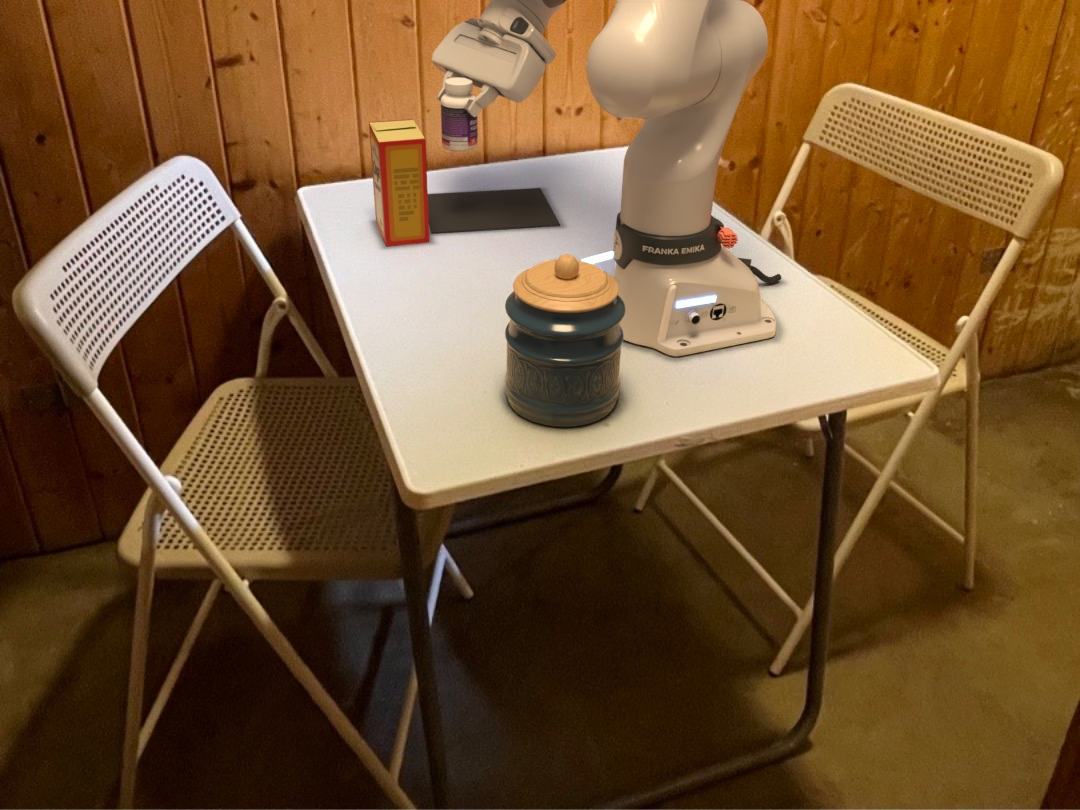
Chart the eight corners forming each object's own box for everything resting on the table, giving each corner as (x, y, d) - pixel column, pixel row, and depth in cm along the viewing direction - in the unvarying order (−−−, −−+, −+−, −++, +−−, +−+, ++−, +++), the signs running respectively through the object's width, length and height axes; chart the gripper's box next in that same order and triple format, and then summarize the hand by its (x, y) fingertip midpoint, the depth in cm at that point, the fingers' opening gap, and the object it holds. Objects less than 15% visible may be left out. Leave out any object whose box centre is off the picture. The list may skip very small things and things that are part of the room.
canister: (530, 440, 108) (533, 291, 98) (488, 380, 118) (487, 240, 108) (638, 415, 112) (651, 271, 103) (589, 360, 122) (596, 224, 113)
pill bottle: (478, 152, 150) (477, 86, 145) (441, 152, 150) (439, 86, 144) (477, 140, 154) (476, 75, 149) (442, 140, 154) (440, 75, 149)
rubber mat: (540, 189, 170) (540, 187, 169) (560, 226, 157) (560, 224, 157) (421, 196, 166) (420, 194, 166) (431, 233, 153) (431, 232, 153)
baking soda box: (429, 242, 151) (425, 136, 142) (386, 246, 149) (378, 140, 140) (417, 218, 158) (412, 116, 150) (375, 222, 157) (368, 119, 148)
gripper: (454, 2, 152) (403, 78, 153) (540, 29, 139) (484, 112, 140) (478, 29, 157) (428, 103, 157) (564, 58, 144) (509, 138, 144)
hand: (455, 108), depth 148 cm, fingers closed on pill bottle, 5 cm apart
